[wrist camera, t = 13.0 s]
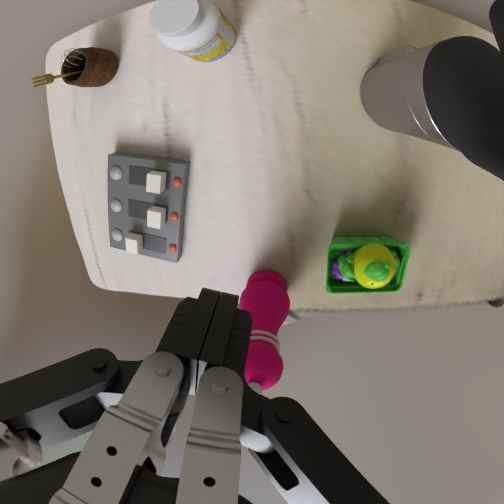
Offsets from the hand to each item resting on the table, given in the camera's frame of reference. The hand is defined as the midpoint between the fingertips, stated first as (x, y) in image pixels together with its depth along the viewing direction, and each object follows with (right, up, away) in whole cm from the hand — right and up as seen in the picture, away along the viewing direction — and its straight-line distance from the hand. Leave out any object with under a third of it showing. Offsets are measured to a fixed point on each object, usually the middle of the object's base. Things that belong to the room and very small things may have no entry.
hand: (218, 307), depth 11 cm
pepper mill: (+4, -3, +32) cm, 33 cm away
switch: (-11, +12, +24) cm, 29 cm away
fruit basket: (+17, +3, +27) cm, 33 cm away
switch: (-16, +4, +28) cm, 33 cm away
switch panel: (-14, +9, +28) cm, 33 cm away
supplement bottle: (-4, +29, +16) cm, 33 cm away
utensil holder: (-20, +29, +18) cm, 39 cm away
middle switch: (-11, +8, +26) cm, 29 cm away
